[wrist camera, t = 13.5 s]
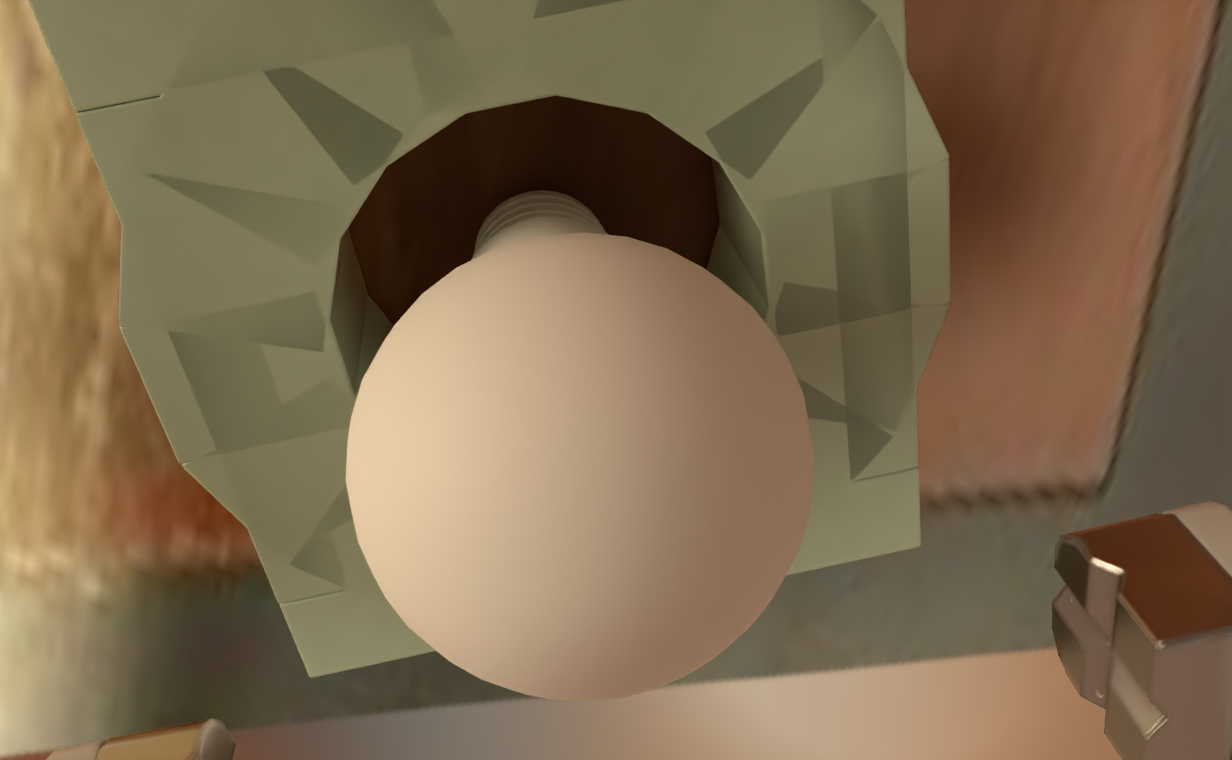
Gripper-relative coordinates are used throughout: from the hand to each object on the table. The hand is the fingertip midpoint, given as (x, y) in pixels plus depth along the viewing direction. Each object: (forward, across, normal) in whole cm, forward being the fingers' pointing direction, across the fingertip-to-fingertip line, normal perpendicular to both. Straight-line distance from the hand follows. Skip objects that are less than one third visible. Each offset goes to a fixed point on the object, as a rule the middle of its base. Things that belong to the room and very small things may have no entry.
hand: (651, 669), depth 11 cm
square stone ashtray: (+12, 0, 0) cm, 12 cm away
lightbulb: (+13, 0, +1) cm, 13 cm away
